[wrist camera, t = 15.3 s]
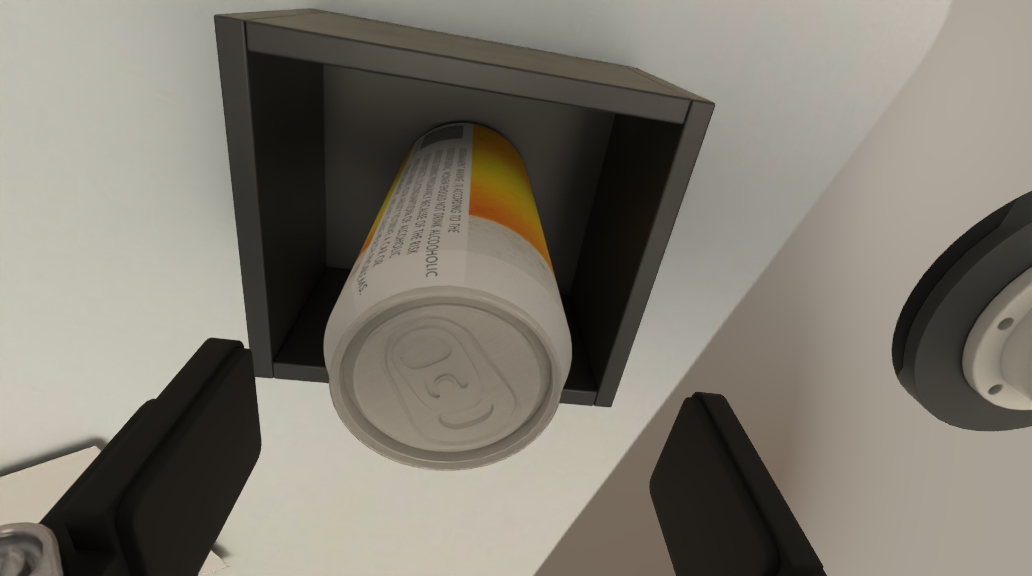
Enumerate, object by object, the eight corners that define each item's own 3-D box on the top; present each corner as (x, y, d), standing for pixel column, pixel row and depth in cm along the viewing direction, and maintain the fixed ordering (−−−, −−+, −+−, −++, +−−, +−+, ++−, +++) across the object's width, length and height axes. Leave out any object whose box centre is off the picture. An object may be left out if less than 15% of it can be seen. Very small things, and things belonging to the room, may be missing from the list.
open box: (638, 68, 23) (717, 103, 16) (576, 299, 29) (611, 408, 22) (309, 8, 21) (212, 14, 14) (316, 269, 27) (251, 377, 20)
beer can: (437, 257, 26) (396, 508, 13) (377, 151, 24) (250, 339, 11) (545, 213, 26) (612, 435, 13) (496, 96, 23) (518, 228, 10)
